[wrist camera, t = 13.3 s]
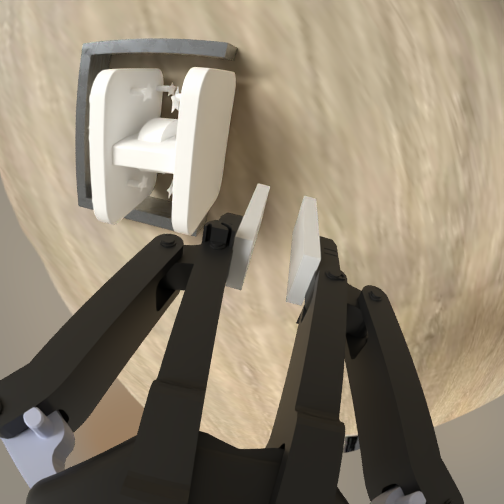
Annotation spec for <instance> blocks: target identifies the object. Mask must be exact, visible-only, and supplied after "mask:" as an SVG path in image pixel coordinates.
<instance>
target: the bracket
mask: <svg viewBox="0 0 504 504" xmlns="http://www.w3.org/2000/svg"><path fill="white" fill-rule="evenodd" d="M236 51H237V47H235V46H233V45H231V44H229V43H225V42H215V41H204V40H190V39H126V40H111V41H101V42H92V43H84V44H83V47H82V54H81V62H80V70H79V79H78V91H77V106H76V177H77V193H78V205H79V206H80V207H84V208H88V209H92V210H94V208H93V203H92V187H91V171H90V143H89V128H88V127H89V120H90V103H89V99H90V95H91V89H92V86H93V83H94V80H95V78H96V77H97V75H98V74H99V73H100V72H101V71H103V70H107V69H109V64H110V58H111V55H114V54H171V55H188V56H200V57H210V58H219V59H226V60H235V55H236ZM124 218H126V219H130V220H134V221H138V222H142V223H145V224H149V225H153V226H157V227H161V228H165V229H168V230H172V231H174V229H173V226H172V202H171V201H167V200H163V199H159V198H154V197H150V196H148V197H147V198H145V199H144V200H143V201H142V202H141V203H140V204H139V205H137V206H136V207H135V208H134V209H133V210H132V211H131V212H130V213H128V214H127V215H126V216H125V217H124ZM206 219H207V213H206V215H205V216H204V218H203V219H202V221H201V222H200V224H199V225H198V227H197V228H196V230H195V231H194V233H193V234H192V235H191V236H195V237H196V236H197V234H198V233H199V231H200V230H201V228H202V227H203V225H204V223H205V222H206Z"/></svg>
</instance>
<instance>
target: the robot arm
mask: <svg viewBox="0 0 504 504" xmlns="http://www.w3.org/2000/svg"><path fill="white" fill-rule="evenodd" d="M269 189H270V186H267V185H263V184H259V183H258V184H257V187H256V189H255V191H254V194H253V196H252V198H251V201H250V203H249V205H248V208H247V210H246V212H245V215H244V217H243V216H239V215H235V214H231V213H226V214H224V215H222V216H221V218H220V219H219V221H218V220H215V221H209V222H207V223H206V224H205V225H204V231H203V238H202V243H201V244H200V245H184V244H183V240H182V239H181V238H180V237H178V236H177V235H173V234H162V235H159V236H157V237H155V238H154V239H153V240H152V241H151V242H150V243H148V244H147V245H146V246H145V247H144V248H143V249H142V250H141V251H140V252H138V253H137V254H136V255H135V256H134V257H133V258H132V259H131V260H130V261H129V262H127V263H126V264H125V265H124V266H123V267H122V268H121V269H120V270H119V271H118V272H117V273H116V274H115V275H114V276H113V277H111V278H110V279H109V280H108V281H107V282H106V283H105V284H104V285H103V286H102V287H101V288H100V289H99V290H98V291H97V292H96V293H95V294H94V295H93V296H92V297H91V298H90V299H89V300H88V301H87V302H86V303H85V304H84V305H83V306H82V307H81V308H80V309H79V310H78V311H77V312H76V313H75V314H74V315H73V316H72V317H71V318H70V319H69V320H68V322H66V323H65V325H64V326H63V327H62V328H61V329H60V330H59V331H58V332H57V333H56V334H55V335H54V336H53V337H52V338H51V339H50V340H49V342H48V343H47V344H46V345H45V346H44V347H43V348H42V350H40V352H39V353H38V354H37V355H36V356H35V357H34V358H33V359H32V361H31V362H30V363H29V364H27V365H26V366H24V367H22V368H20V369H19V370H17V371H15V372H14V373H12V374H10V375H9V376H7V377H5V378H4V379H2V380H0V438H1V439H2V441H3V443H4V445H5V446H6V449H7V450H8V452H9V454H10V456H11V458H12V460H13V461H14V463H15V465H16V466H17V468H18V470H19V471H20V473H21V475H22V476H23V478H24V479H25V481H26V483H27V484H28V485H29V487H30V491H29V493H28V496H27V500H26V504H349V503H348V502H347V500H346V499H345V497H344V496H343V495H342V493H341V492H340V490H339V489H338V487H337V483H338V478H339V472H340V466H341V460H342V453H343V446H344V438H345V425H344V423H342V422H340V420H339V413H340V404H341V394H342V384H343V372H344V358H345V363H346V368H347V373H348V378H349V383H350V389H351V394H352V400H353V406H354V411H355V418H356V424H357V430H358V437H359V444H360V450H361V458H362V466H363V474H364V479H365V485H366V489H367V492H368V496H369V498H370V501H371V503H370V504H464V501H463V498H462V496H461V494H460V492H459V490H458V488H457V486H456V484H455V482H454V481H453V479H452V477H451V475H450V473H449V471H448V470H447V468H446V466H445V464H444V462H443V461H442V459H441V456H440V451H439V447H438V444H437V439H436V435H435V431H434V427H433V424H432V420H431V416H430V413H429V409H428V406H427V403H426V399H425V396H424V393H423V390H422V387H421V384H420V381H419V378H418V375H417V372H416V369H415V366H414V363H413V360H412V357H411V355H410V352H409V349H408V346H407V344H406V341H405V338H404V336H403V333H402V331H401V328H400V326H399V323H398V321H397V318H396V316H395V313H394V311H393V309H392V306H391V304H390V301H389V299H388V297H387V295H386V294H385V293H384V292H383V291H382V290H381V289H379V288H378V287H375V286H372V285H367V286H365V287H364V288H363V289H362V291H361V290H359V289H357V288H354V287H353V286H351V285H349V284H348V283H347V277H346V275H345V274H344V273H343V272H342V271H341V270H340V265H339V258H338V252H337V246H336V244H335V243H334V241H333V240H332V239H328V238H324V237H321V236H319V225H318V213H317V202H316V199H315V198H311V197H308V196H304V198H303V201H302V204H301V208H300V211H299V214H298V217H297V221H296V224H295V227H294V230H293V233H292V245H291V256H290V266H289V277H288V286H287V296H286V302H289V303H293V304H297V305H302V303H303V301H304V298H305V305H304V307H303V309H302V311H301V314H300V316H299V318H298V320H297V322H296V323H297V324H299V325H298V329H297V334H296V338H295V343H294V347H293V351H292V356H291V360H290V364H289V368H288V372H287V377H286V381H285V385H284V388H283V392H282V396H281V400H280V404H279V408H278V411H277V415H276V419H275V422H274V426H273V430H272V433H271V436H270V439H269V442H268V444H267V446H266V448H263V449H238V448H236V447H234V446H231V445H229V444H227V443H225V442H223V441H221V440H219V439H217V438H215V437H213V436H212V435H210V434H208V433H205V432H201V431H199V429H200V422H201V416H202V410H203V404H204V398H205V393H206V387H207V381H208V375H209V369H210V364H211V358H212V352H213V347H214V341H215V336H216V330H217V325H218V319H219V314H220V309H221V303H222V298H223V293H224V288H225V284H226V286H227V287H231V288H235V289H238V290H241V289H242V286H243V283H244V279H245V276H246V273H247V269H248V266H249V262H250V259H251V256H252V252H253V249H254V246H255V242H256V239H257V235H258V232H259V229H260V225H261V221H262V217H263V213H264V209H265V205H266V201H267V197H268V193H269ZM180 290H185V292H184V295H183V298H182V301H181V304H180V307H179V310H178V313H177V316H176V319H175V322H174V325H173V329H172V332H171V335H170V338H169V341H168V345H167V348H166V351H165V354H164V358H163V361H162V364H161V368H160V371H159V374H158V377H157V379H156V380H154V381H153V383H152V385H151V387H150V390H149V394H148V397H147V401H146V404H145V408H144V411H143V415H142V419H141V422H140V426H139V430H138V433H137V435H136V436H134V437H132V438H130V439H128V440H126V441H124V442H123V443H121V444H119V445H117V446H115V447H113V448H111V449H109V450H107V451H105V452H103V453H101V454H99V455H97V456H94V457H92V458H90V459H88V460H86V461H84V462H82V463H79V464H77V465H75V466H73V467H70V468H68V469H66V470H65V469H64V467H65V461H66V458H67V457H68V455H69V454H70V453H71V452H72V450H73V448H74V445H75V438H74V434H73V432H75V431H76V430H77V429H78V428H79V427H80V426H81V425H82V424H83V423H84V422H85V421H86V419H87V418H88V417H89V416H90V414H91V413H92V412H93V410H94V409H95V407H96V406H97V404H98V403H99V402H100V400H101V399H102V397H103V396H104V394H105V393H106V392H107V390H108V389H109V387H110V386H111V385H112V383H113V382H114V380H115V379H116V378H117V376H118V375H119V373H120V372H121V371H122V369H123V368H124V366H125V365H126V364H127V362H128V361H129V360H130V358H131V357H132V355H133V354H134V353H135V351H136V350H137V349H138V347H139V346H140V344H141V343H142V342H143V340H144V339H145V338H146V336H147V335H148V334H149V332H150V331H151V330H152V328H153V327H154V326H155V324H156V323H157V322H158V320H159V319H160V318H161V316H162V315H163V314H164V312H165V311H166V310H167V308H168V307H169V306H170V304H171V303H172V302H173V300H174V299H175V298H176V296H177V295H178V294H179V292H180Z"/></svg>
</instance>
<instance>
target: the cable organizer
mask: <svg viewBox="0 0 504 504" xmlns="http://www.w3.org/2000/svg"><path fill="white" fill-rule="evenodd" d="M235 88H236V76H235V73H234V72H232V71H226V70H220V69H213V68H202V67H193V68H191V69H190V70H189V72H188V73H187V75H186V77H185V80H184V83H183V86H182V90H181V94H180V93H179V89H178V88H177V90H176V93H175V95H174V90H175V89H176V86H174V85H173V82H172V84H171V86H166V85H164V79H163V74H162V71H161V70H160V69H158V68H126V69H107V70H103V71H101V72H100V73H99V74H98V75H97V77H96V78H95V80H94V83H93V86H92V89H91V95H90V99H89V103H90V120H89V127H88V128H89V143H90V171H91V187H92V203H93V208H94V213H95V216H96V218H97V219H98V220H99V221H101V222H104V223H108V224H113V225H115V224H117V223H119V222H120V221H121V220H122V219H123V218H124V217H125V216H126V215H127V214H128V213H130V212H131V211H132V210H133V209H134V208H135V207H136V206H137V205H139V204H140V203H141V202H142V201H143V200H144V199H145V198H147V197H148V196H149V195H150V194H151V193H152V191H153V189H154V187H155V183H156V179H157V173H163V175H164V173H170V174H174V176H173V179H172V183H171V186H170V187H169V189H168V190H167V191H168V192H169V197H170V195H171V194H172V193H173V196H172V226H173V229H174V231H175V232H177V233H181V234H186V235H192V234H193V233H194V231H195V230H196V228H197V227H198V225H199V224H200V222H201V221H202V219H203V218H204V216H205V215H206V213H207V212H208V211H209V209H210V208H211V206H212V205H213V203H214V202H215V200H216V199H217V197H218V194H219V191H220V187H221V183H222V176H223V169H224V162H225V155H226V148H227V141H228V134H229V127H230V121H231V114H232V108H233V102H234V95H235ZM163 92H169V94H168V96H169V95H171V94H172V95H173V96H172V97H171V99H172V102H173V103H172V112H173V111H174V109H175V108H176V109H177V110H178V111H179V114H178V119H169V118H161V107H162V97H163ZM179 101H180V105H179ZM172 112H171V113H172ZM168 199H169V198H168Z"/></svg>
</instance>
